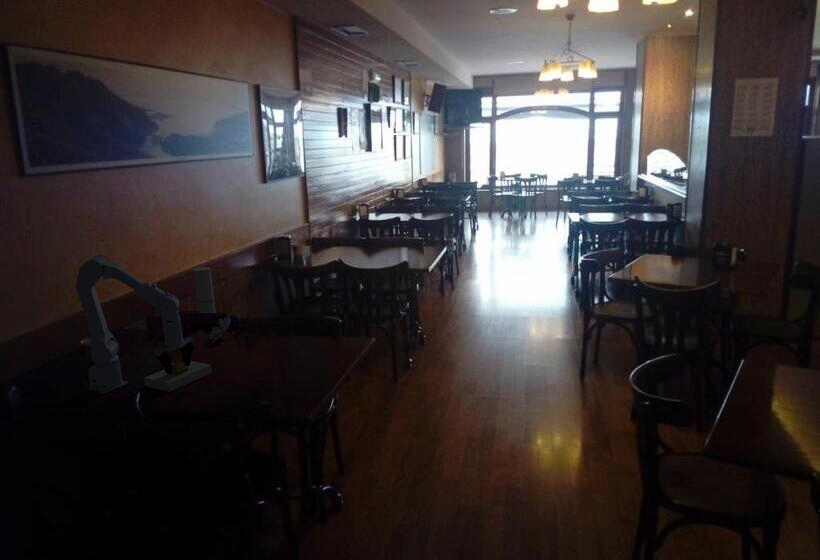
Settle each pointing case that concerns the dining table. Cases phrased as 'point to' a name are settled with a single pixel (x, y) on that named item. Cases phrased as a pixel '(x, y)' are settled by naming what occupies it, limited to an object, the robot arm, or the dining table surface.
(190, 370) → the well block
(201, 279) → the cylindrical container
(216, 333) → the water lily
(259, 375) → the dining table surface
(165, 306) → the robot arm
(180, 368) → the peg
